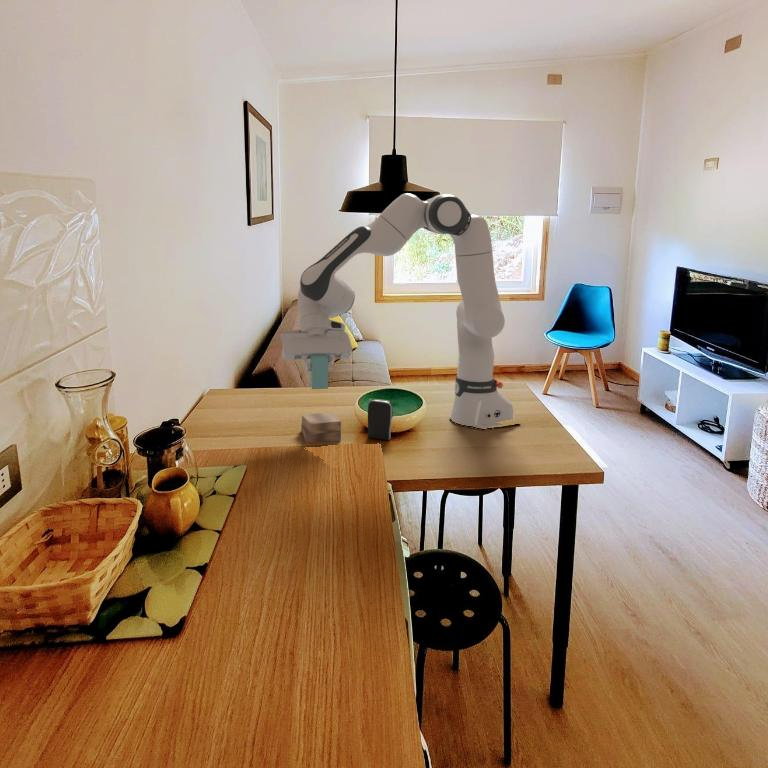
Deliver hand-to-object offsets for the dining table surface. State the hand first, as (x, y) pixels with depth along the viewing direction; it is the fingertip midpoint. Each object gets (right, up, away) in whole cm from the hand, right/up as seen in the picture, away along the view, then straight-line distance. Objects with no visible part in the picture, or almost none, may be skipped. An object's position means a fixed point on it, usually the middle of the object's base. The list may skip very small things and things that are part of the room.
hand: (319, 370), depth 173 cm
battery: (+17, -20, +3) cm, 26 cm away
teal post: (0, -5, +2) cm, 5 cm away
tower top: (0, -17, +2) cm, 17 cm away
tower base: (0, -20, +3) cm, 20 cm away
